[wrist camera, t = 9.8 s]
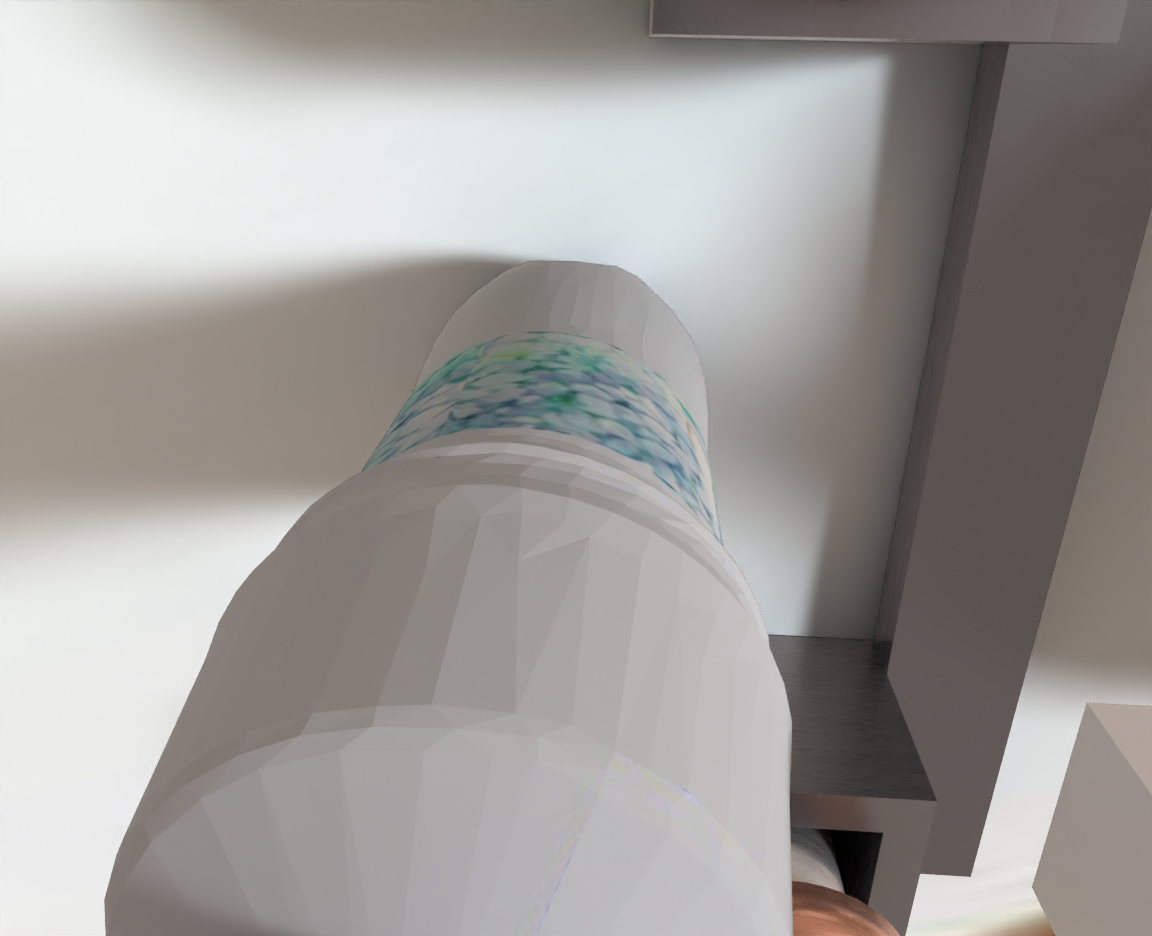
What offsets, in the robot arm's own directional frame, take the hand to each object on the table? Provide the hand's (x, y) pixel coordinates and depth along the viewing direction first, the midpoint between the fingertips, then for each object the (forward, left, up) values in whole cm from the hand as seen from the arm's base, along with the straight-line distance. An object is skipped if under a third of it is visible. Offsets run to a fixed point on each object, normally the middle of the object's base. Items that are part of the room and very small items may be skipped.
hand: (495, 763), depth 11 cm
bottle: (0, 0, -14) cm, 14 cm away
